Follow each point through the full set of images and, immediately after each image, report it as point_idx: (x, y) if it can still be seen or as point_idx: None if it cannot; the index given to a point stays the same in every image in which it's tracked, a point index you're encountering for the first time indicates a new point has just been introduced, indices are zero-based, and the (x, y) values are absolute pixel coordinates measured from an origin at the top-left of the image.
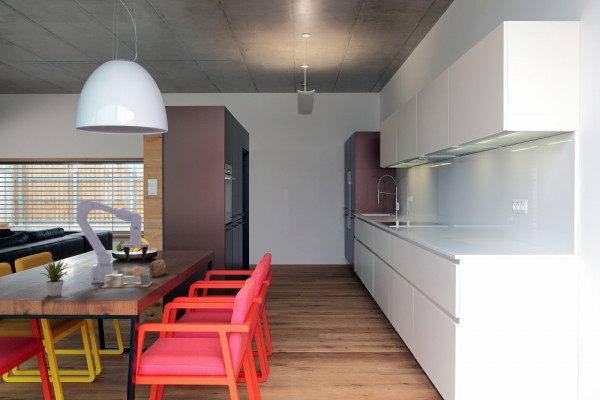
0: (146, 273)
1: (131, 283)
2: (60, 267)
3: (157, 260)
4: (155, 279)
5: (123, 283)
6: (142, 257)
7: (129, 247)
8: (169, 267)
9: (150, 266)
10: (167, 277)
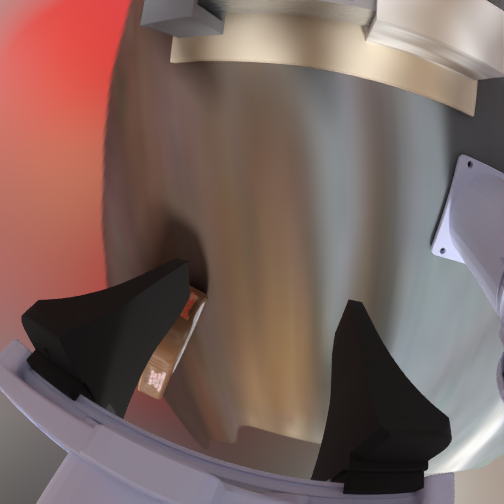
0: (166, 4)
1: (304, 17)
2: None
3: (158, 387)
4: (170, 187)
5: (365, 33)
6: (159, 276)
7: (316, 482)
8: (187, 422)
9: (184, 322)
10: (125, 235)
